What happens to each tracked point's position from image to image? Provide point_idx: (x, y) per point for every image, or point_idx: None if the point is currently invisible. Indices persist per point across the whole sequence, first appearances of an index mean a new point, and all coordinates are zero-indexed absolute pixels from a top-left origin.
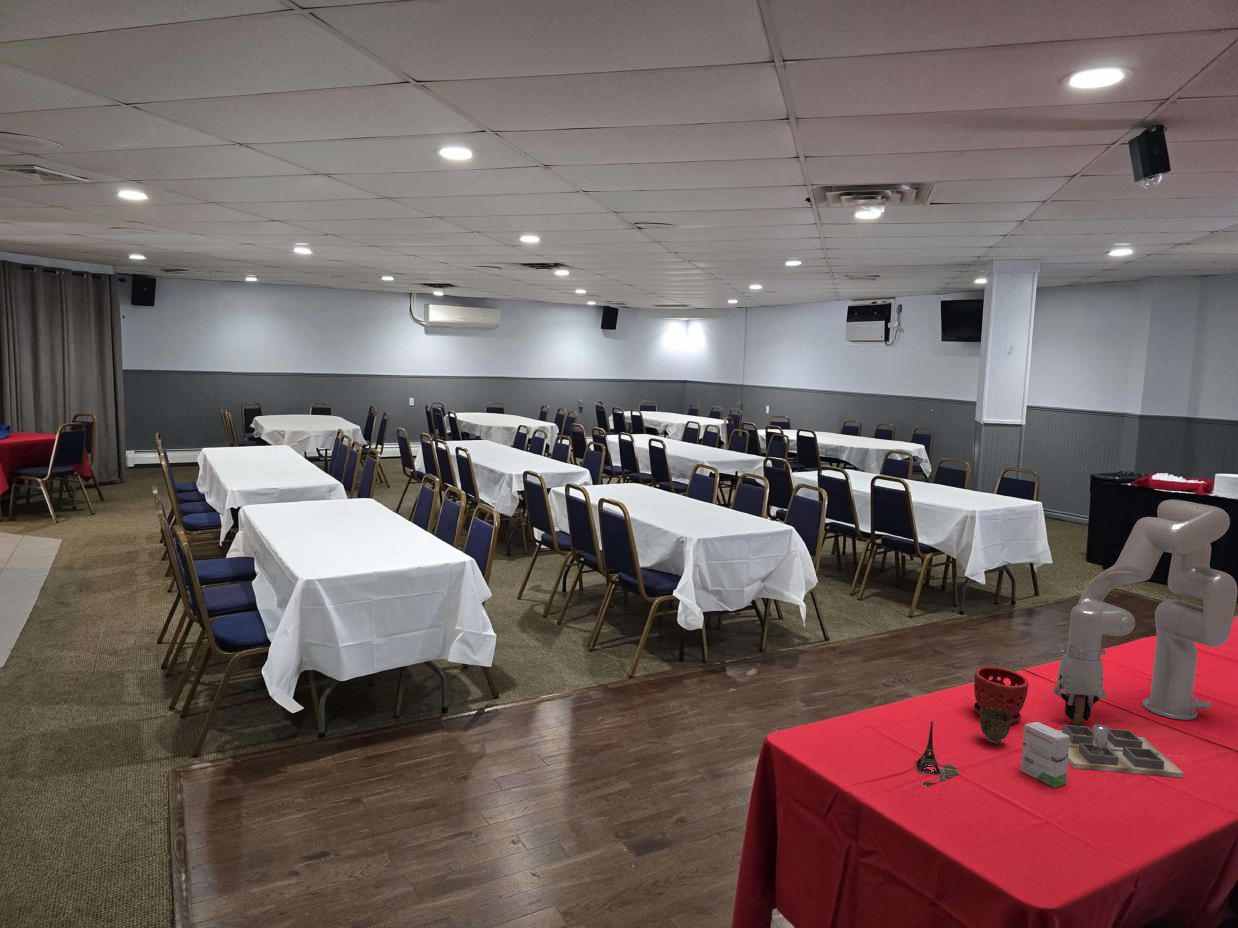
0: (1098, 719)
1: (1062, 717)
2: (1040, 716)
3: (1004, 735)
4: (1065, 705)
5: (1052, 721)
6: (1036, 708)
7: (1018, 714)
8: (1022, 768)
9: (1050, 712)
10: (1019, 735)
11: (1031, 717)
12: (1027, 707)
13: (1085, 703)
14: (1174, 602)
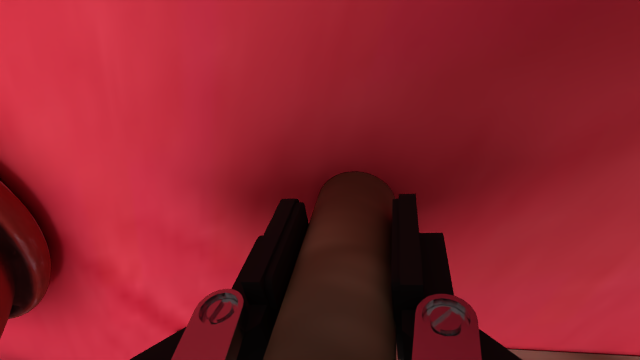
0: (591, 84)
1: (283, 131)
2: (147, 155)
3: None
4: (239, 278)
5: (215, 209)
6: (106, 7)
7: (25, 262)
8: None
9: (207, 59)
10: (96, 350)
11: (104, 183)
12: (46, 11)
13: (404, 351)
14: None
